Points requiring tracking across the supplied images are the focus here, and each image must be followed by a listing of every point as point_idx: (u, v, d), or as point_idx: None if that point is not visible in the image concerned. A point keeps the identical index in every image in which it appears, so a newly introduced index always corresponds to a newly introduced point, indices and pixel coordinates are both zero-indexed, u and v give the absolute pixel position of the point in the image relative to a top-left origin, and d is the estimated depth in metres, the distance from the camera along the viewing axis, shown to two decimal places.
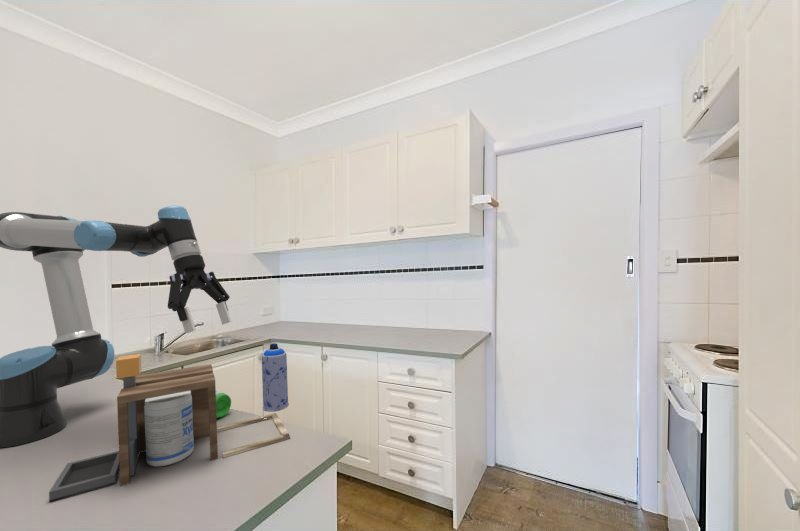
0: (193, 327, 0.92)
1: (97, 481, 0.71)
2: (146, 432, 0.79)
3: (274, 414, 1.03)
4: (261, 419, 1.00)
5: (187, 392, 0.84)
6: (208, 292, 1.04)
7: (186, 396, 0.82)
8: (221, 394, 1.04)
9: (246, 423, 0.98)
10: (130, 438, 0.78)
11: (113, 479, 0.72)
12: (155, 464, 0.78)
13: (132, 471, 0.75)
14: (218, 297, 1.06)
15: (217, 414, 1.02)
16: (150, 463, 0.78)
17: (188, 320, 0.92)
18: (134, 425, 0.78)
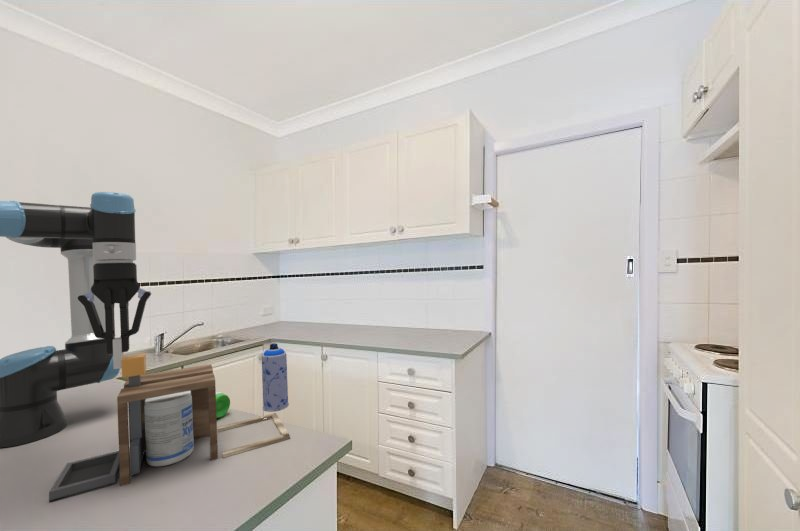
0: (115, 365, 0.76)
1: (97, 481, 0.71)
2: (146, 432, 0.79)
3: (274, 414, 1.03)
4: (261, 419, 1.00)
5: (187, 392, 0.84)
6: None
7: (186, 396, 0.82)
8: (220, 394, 1.04)
9: (246, 423, 0.98)
10: (135, 437, 0.78)
11: (113, 479, 0.72)
12: (155, 464, 0.78)
13: (137, 470, 0.75)
14: (121, 327, 0.78)
15: (216, 414, 1.02)
16: (150, 463, 0.78)
17: None
18: (139, 424, 0.79)
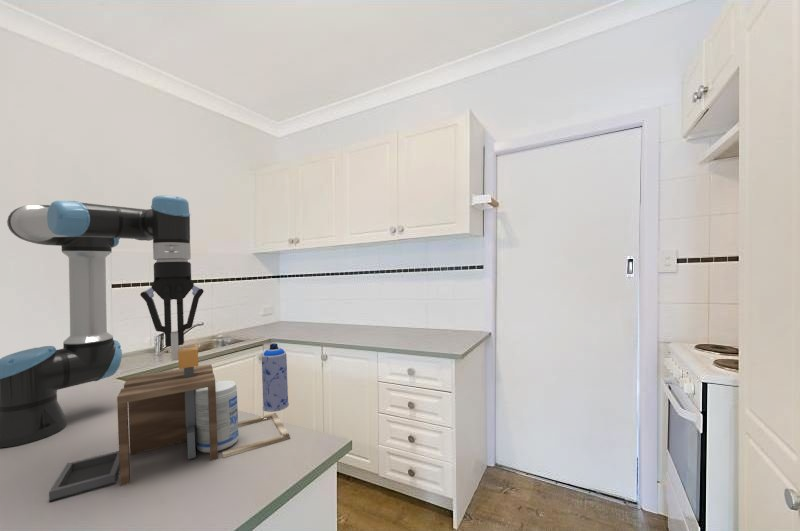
0: (172, 357, 0.82)
1: (97, 481, 0.71)
2: (197, 420, 0.84)
3: (274, 414, 1.03)
4: (261, 419, 1.00)
5: (233, 383, 0.89)
6: None
7: (232, 387, 0.87)
8: None
9: (246, 423, 0.98)
10: (190, 424, 0.84)
11: (113, 479, 0.72)
12: (205, 450, 0.83)
13: (194, 454, 0.81)
14: None
15: None
16: (201, 449, 0.83)
17: (171, 347, 0.82)
18: (193, 412, 0.84)
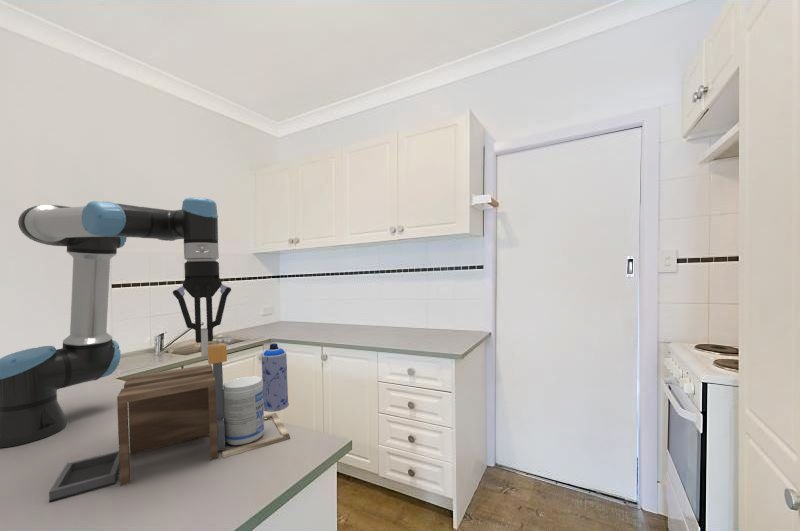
0: (203, 353, 0.85)
1: (97, 481, 0.71)
2: (225, 414, 0.87)
3: (274, 414, 1.03)
4: None
5: (258, 379, 0.92)
6: (206, 307, 0.88)
7: (258, 382, 0.90)
8: None
9: None
10: (219, 417, 0.87)
11: (113, 479, 0.72)
12: (233, 443, 0.86)
13: (224, 446, 0.84)
14: (207, 319, 0.86)
15: None
16: (229, 442, 0.87)
17: (201, 344, 0.86)
18: (222, 406, 0.88)
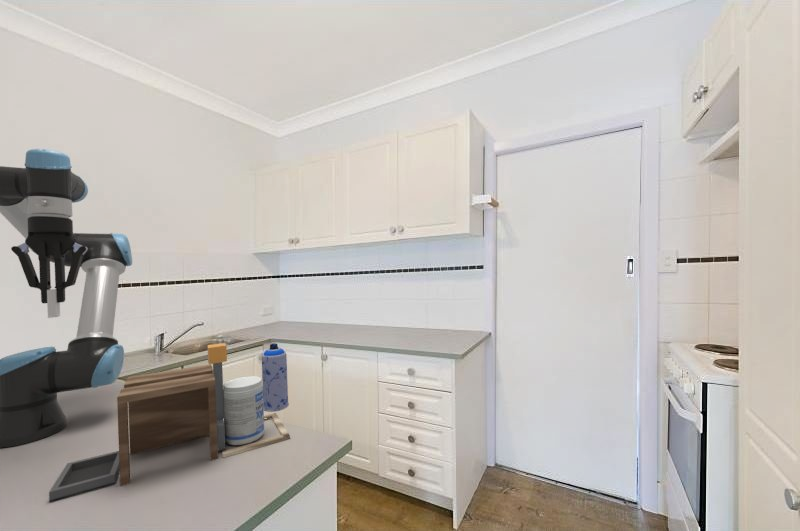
0: (49, 314, 0.81)
1: (97, 481, 0.71)
2: (225, 414, 0.87)
3: (274, 414, 1.03)
4: None
5: (258, 379, 0.92)
6: None
7: (258, 383, 0.90)
8: None
9: None
10: (219, 417, 0.87)
11: (113, 479, 0.72)
12: (233, 443, 0.86)
13: (224, 446, 0.84)
14: None
15: None
16: (229, 442, 0.87)
17: None
18: (222, 406, 0.88)
